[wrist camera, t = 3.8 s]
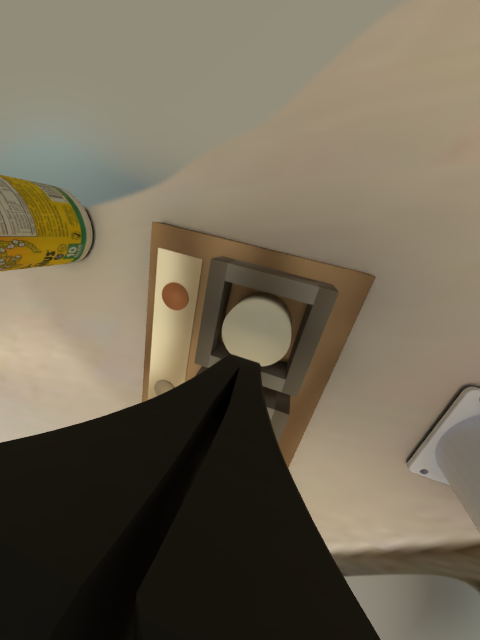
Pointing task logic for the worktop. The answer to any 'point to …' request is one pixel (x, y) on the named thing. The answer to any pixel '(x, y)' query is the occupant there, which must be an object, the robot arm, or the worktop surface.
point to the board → (221, 297)
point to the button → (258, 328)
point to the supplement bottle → (40, 225)
